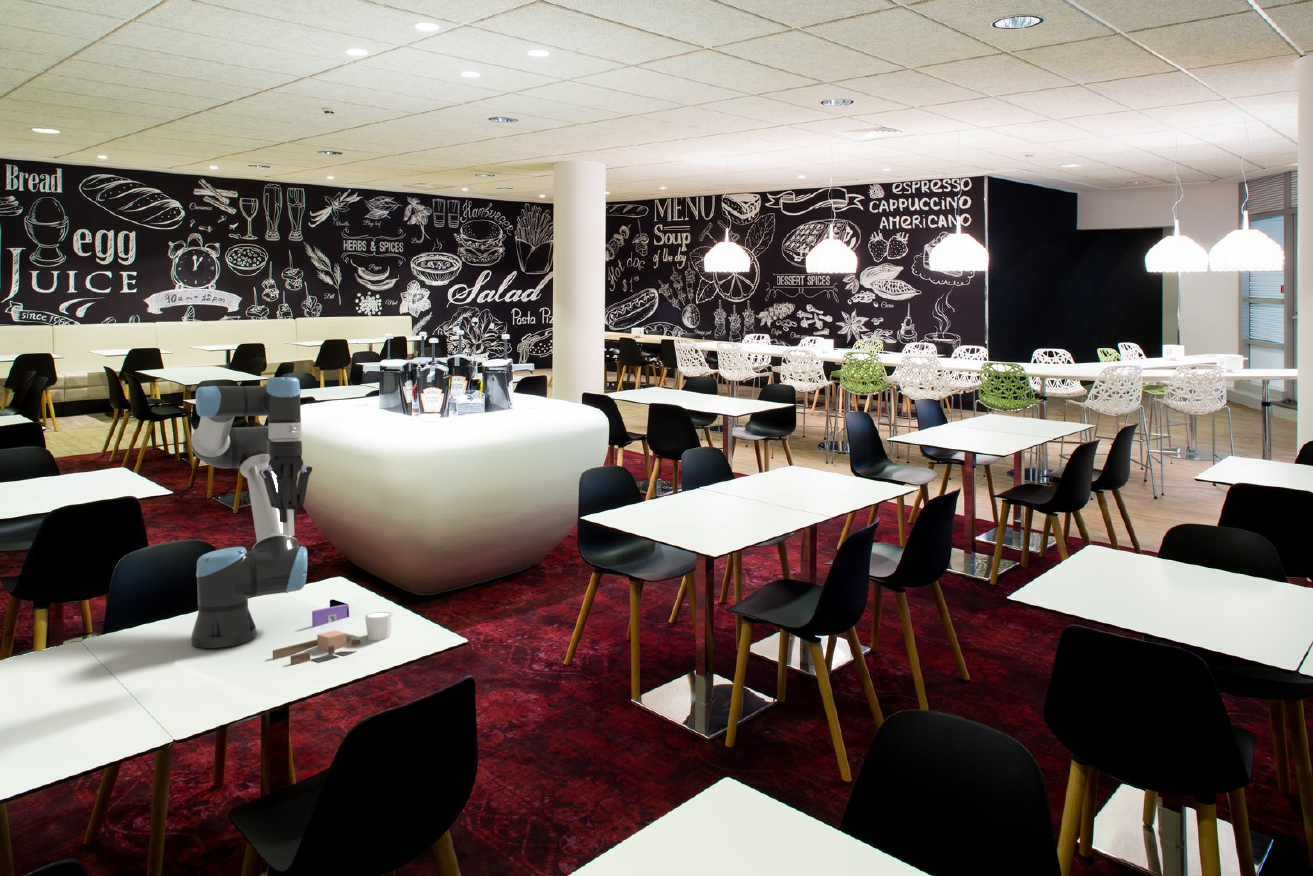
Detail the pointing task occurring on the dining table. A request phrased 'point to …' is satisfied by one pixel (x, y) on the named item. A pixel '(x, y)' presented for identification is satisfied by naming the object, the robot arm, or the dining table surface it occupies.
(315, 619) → the miniature room corner
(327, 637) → the block
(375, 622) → the white cup
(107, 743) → the dining table surface
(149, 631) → the dining table surface
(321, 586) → the dining table surface
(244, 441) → the robot arm
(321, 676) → the dining table surface
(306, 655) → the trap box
